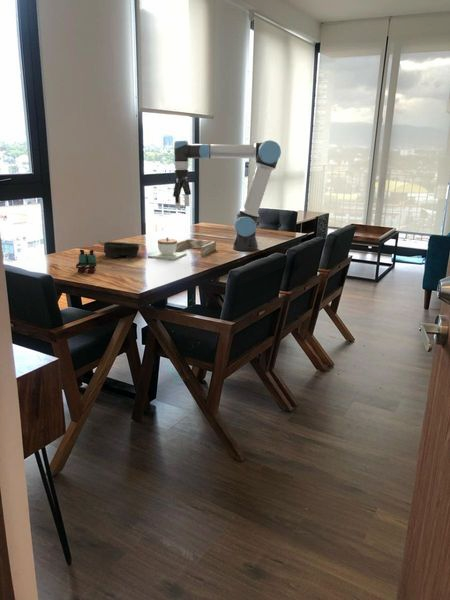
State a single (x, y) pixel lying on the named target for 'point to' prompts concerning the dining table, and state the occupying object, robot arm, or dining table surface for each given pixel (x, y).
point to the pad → (168, 257)
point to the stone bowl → (120, 249)
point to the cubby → (197, 245)
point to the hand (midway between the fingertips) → (182, 207)
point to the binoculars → (86, 262)
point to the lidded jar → (167, 246)
